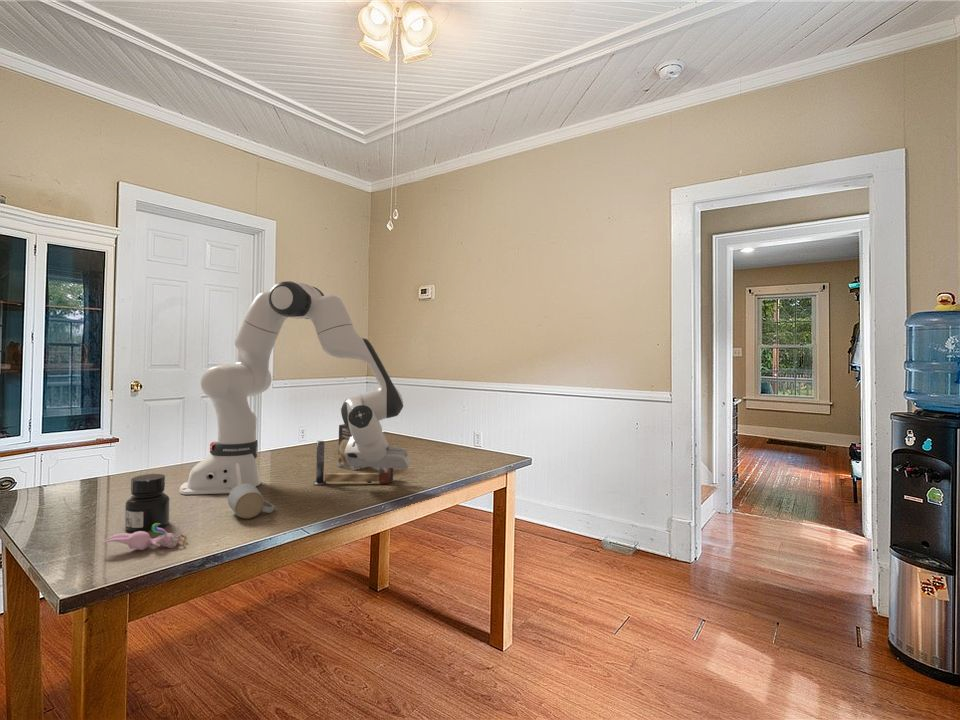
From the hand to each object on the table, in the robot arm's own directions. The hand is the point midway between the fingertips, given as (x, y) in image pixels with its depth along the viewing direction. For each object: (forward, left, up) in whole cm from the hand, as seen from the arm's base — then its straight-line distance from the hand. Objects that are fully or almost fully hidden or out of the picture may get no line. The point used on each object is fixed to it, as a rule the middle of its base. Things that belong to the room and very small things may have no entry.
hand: (383, 470), depth 157 cm
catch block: (+2, +6, -5) cm, 8 cm away
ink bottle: (-61, -18, -5) cm, 64 cm away
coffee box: (-6, +28, -5) cm, 29 cm away
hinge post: (-19, +8, -5) cm, 21 cm away
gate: (-7, +5, -5) cm, 10 cm away
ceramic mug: (-38, -17, -5) cm, 42 cm away
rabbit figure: (-58, -34, -5) cm, 67 cm away
